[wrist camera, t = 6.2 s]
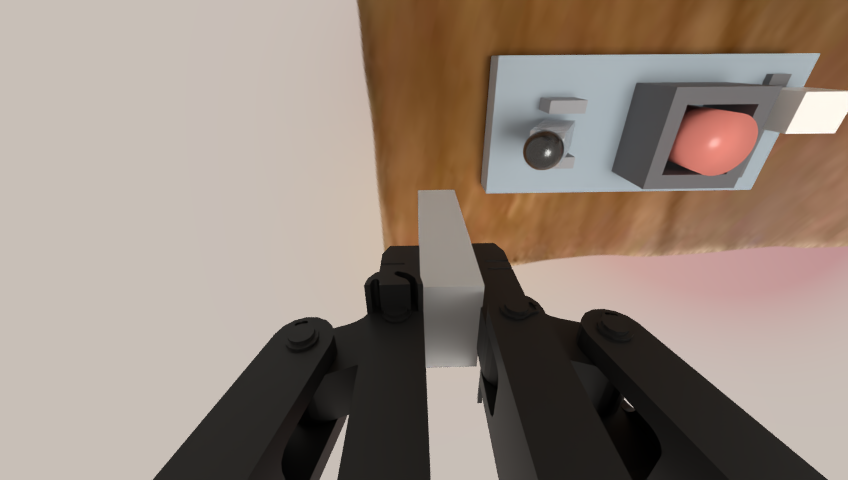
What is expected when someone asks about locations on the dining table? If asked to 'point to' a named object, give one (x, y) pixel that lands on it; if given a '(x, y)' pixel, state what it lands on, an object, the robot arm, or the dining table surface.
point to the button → (713, 140)
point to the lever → (548, 143)
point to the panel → (626, 116)
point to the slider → (807, 110)
